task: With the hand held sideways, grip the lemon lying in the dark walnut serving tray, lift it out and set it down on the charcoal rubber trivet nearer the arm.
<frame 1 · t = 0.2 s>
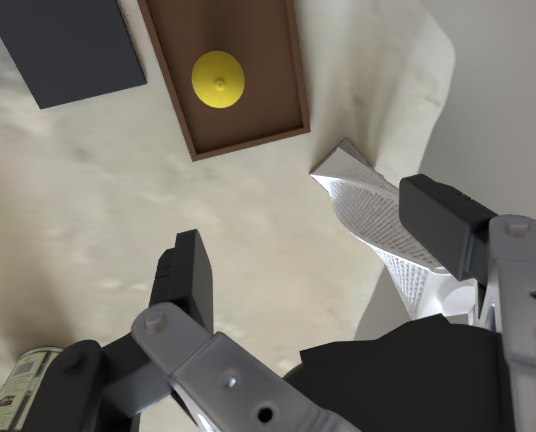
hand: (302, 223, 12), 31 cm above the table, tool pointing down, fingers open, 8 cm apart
tray: (231, 63, 37), on the table
lemon: (217, 76, 37), resting on tray
coffee can: (52, 365, 55), on the table
skyscraper: (335, 172, 46), on the table
trivet: (68, 36, 33), on the table
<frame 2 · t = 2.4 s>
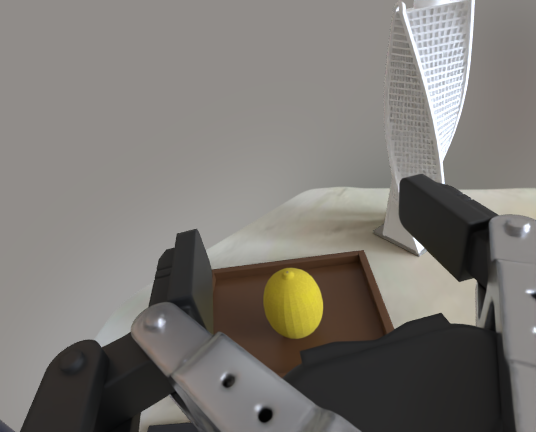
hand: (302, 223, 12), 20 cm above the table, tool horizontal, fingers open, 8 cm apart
tray: (288, 318, 34), on the table
lemon: (298, 332, 32), resting on tray
skyscraper: (414, 237, 42), on the table
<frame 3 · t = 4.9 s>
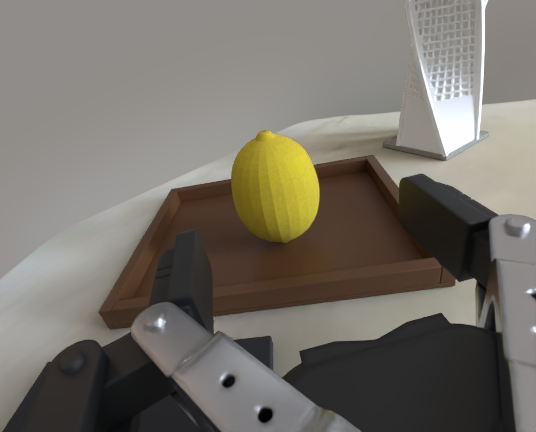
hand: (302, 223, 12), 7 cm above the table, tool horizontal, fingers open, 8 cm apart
tray: (272, 230, 24), on the table
lemon: (285, 243, 23), resting on tray
skyscraper: (436, 146, 32), on the table
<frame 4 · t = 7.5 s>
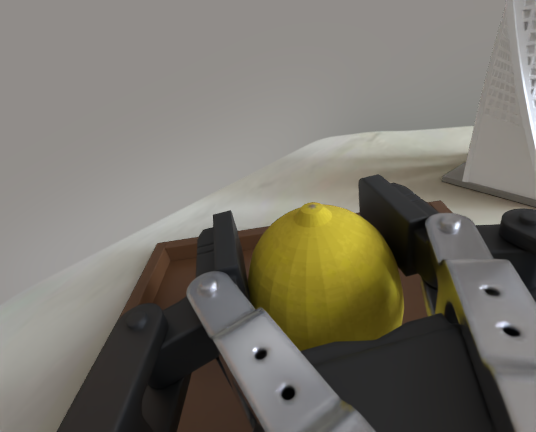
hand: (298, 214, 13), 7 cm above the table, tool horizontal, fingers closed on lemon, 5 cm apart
tray: (305, 331, 16), on the table
lemon: (332, 364, 14), resting on tray, touching gripper
skyscraper: (519, 183, 24), on the table
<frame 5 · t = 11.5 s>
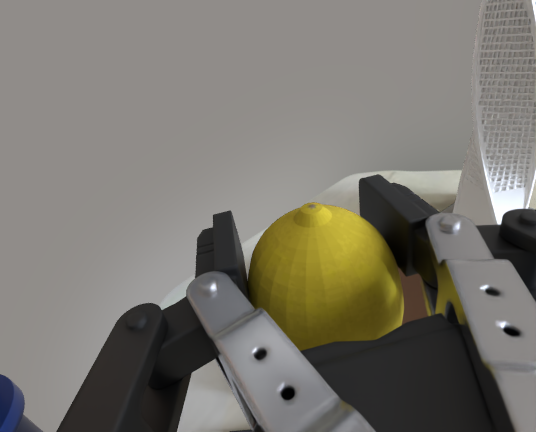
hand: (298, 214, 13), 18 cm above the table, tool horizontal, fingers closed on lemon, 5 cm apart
tray: (365, 307, 30), on the table
lemon: (332, 364, 14), point 11 cm above the table, touching gripper
skyscraper: (487, 219, 38), on the table
when the fingers open (7 cm above the table, at t = 15.4 s): lemon stays where it is, resting on trivet.
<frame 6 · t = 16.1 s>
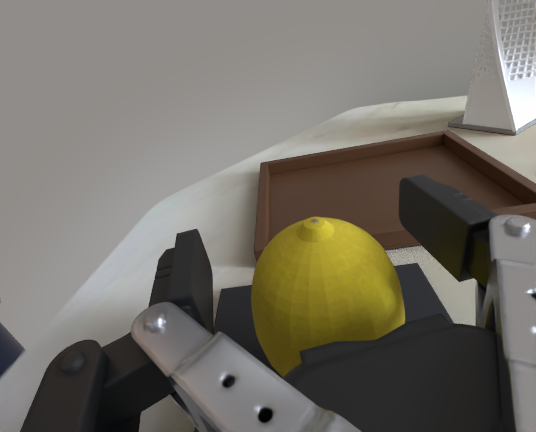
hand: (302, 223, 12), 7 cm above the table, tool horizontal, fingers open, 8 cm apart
tray: (371, 193, 28), on the table
lemon: (334, 372, 14), resting on trivet
skyscraper: (500, 124, 35), on the table
trivet: (333, 375, 15), on the table
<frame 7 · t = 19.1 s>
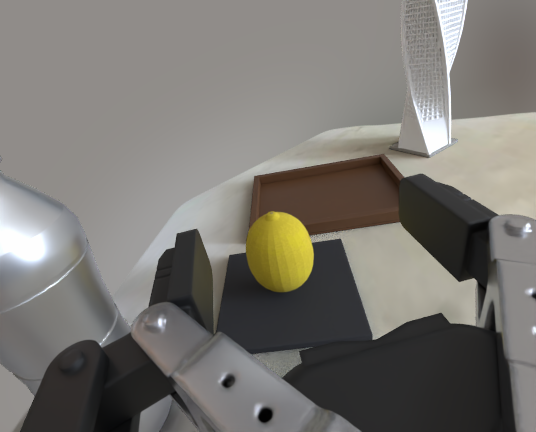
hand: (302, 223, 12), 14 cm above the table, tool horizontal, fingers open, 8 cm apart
tray: (326, 198, 42), on the table
silver metal flask: (135, 421, 22), on the table
lemon: (287, 289, 29), resting on trivet
skyscraper: (424, 148, 50), on the table
trivet: (287, 291, 29), on the table
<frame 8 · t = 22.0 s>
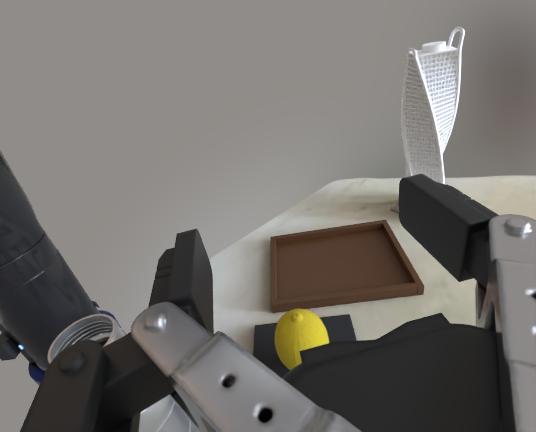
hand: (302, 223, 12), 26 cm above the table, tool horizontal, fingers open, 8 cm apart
tray: (335, 265, 48), on the table
lemon: (306, 365, 35), resting on trivet
skyscraper: (421, 211, 56), on the table
trivet: (306, 366, 35), on the table
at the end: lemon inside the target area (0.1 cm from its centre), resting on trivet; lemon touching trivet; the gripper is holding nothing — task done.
